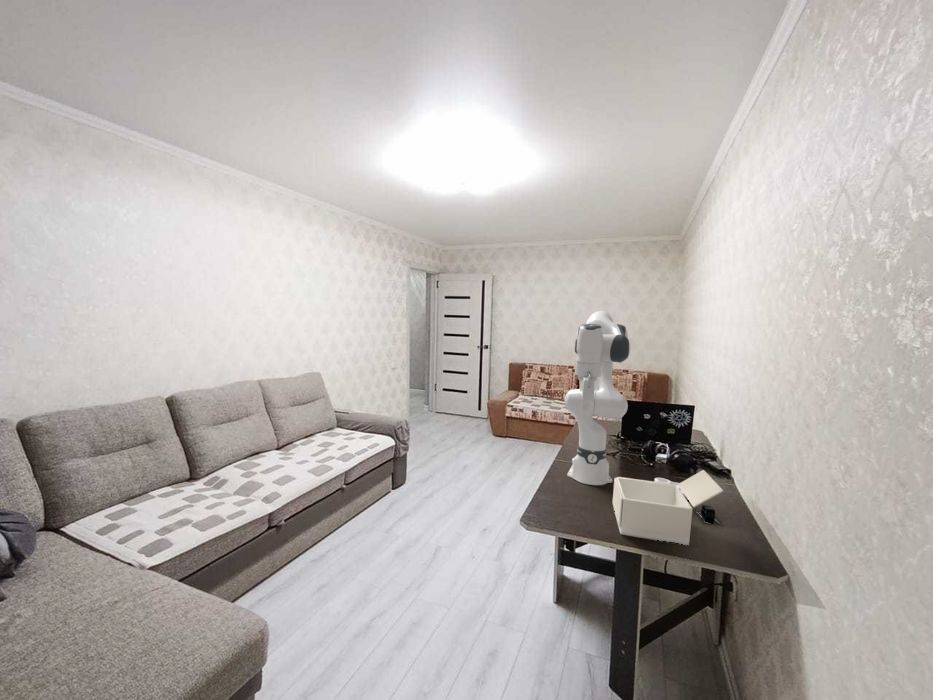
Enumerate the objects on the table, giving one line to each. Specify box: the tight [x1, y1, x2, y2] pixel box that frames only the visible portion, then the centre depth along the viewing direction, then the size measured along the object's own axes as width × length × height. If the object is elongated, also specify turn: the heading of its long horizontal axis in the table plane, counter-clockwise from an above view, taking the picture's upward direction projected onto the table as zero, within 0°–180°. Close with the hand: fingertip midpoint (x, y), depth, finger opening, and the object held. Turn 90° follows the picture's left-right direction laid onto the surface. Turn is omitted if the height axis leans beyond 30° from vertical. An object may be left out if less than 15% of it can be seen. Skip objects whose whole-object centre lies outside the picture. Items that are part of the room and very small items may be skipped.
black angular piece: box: [698, 503, 722, 526], centre depth 141 cm, size 12×7×5 cm, turn 170°
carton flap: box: [678, 469, 724, 508], centre depth 129 cm, size 17×10×1 cm
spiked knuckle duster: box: [653, 477, 686, 497], centre depth 160 cm, size 3×18×15 cm
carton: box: [612, 476, 693, 547], centre depth 133 cm, size 19×21×12 cm
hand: (585, 409), depth 138 cm, fingers closed
